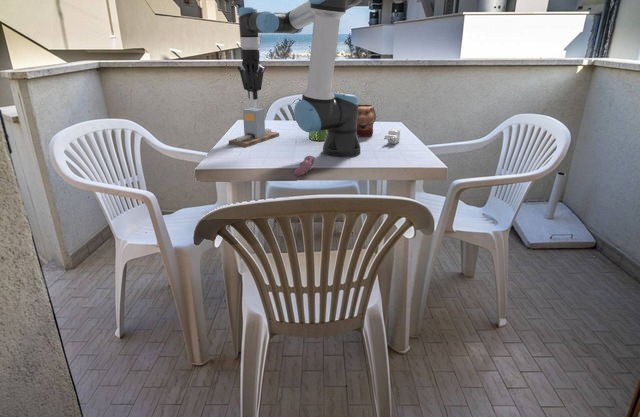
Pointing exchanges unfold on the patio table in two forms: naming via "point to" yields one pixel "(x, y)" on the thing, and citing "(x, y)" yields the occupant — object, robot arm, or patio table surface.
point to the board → (254, 140)
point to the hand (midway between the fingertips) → (253, 106)
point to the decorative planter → (365, 120)
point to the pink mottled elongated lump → (304, 166)
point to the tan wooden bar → (251, 136)
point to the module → (254, 122)
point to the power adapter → (393, 136)
